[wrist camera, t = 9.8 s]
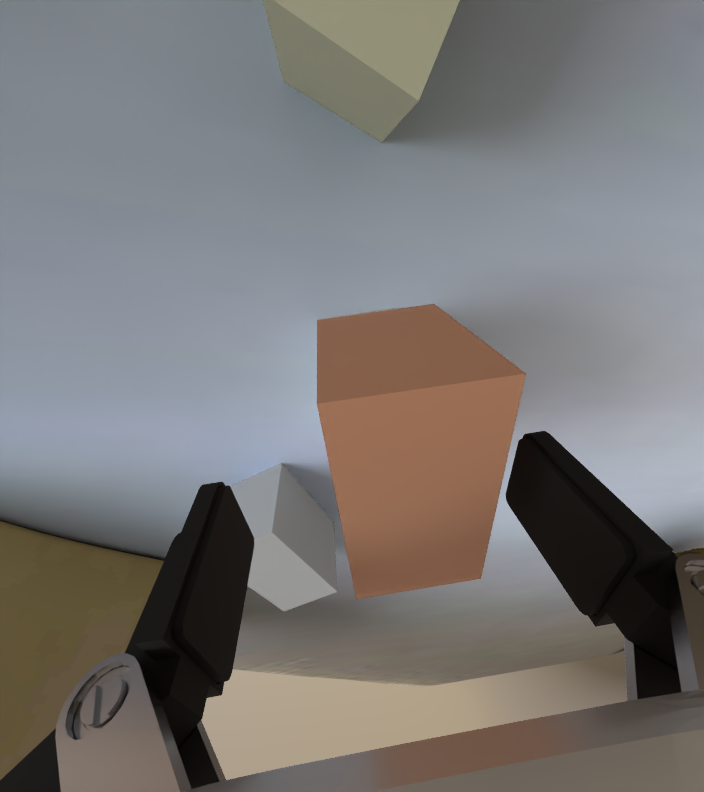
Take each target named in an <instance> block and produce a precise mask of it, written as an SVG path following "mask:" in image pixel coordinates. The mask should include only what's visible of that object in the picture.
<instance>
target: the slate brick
mask: <svg viewBox="0 0 704 792" xmlns="http://www.w3.org/2000/svg"><path fill="white" fill-rule="evenodd" d="M231 489H232V491H233V494H234V496H235V498H236V500H237V502H238V504H239V506H240V508H241V511H242V513H243V515H244V517H245V519H246V521H247V523H248V526H249V528H250V530H251V532H252V534H253V537H254V551H253V556H252V562H251V568H250V573H249V579H248V585H247V586H248V587H250V588H251V589H253V590H254V591H255V592H257V593H258V594H260V595H261V596H263V597H264V598H265V599H267V600H268V601H270V602H271V603H273V604H274V605H275V606H277V607H278V608H280V609H281V610H283V611H287V610H290V609H292V608H295V607H298V606H301V605H303V604H306V603H309V602H311V601H314V600H317V599H319V598H322V597H325V596H328V595H330V594H333V593H336V592H337V574H336V556H335V538H334V522H333V521H332V520H331V518H330V517H329V516H328V515H327V514H326V513H325V512H324V511H323V509H322V508H321V507H320V506H319V505H318V504H317V503H316V501H315V500H314V499H313V498H312V497H311V496H310V495H309V493H308V492H307V491H306V490H305V489H304V488H303V487H302V485H301V484H300V483H299V482H298V481H297V480H296V479H295V477H294V476H293V475H292V474H291V473H290V472H289V471H288V469H287V468H286V467H285V466H284V465H283V464H282V463H280V464H278V465H276V466H274V467H272V468H269V469H267V470H265V471H263V472H261V473H258V474H256V475H254V476H252V477H250V478H247V479H245V480H243V481H241V482H239V483H236V484H234V485H232V487H231Z"/></svg>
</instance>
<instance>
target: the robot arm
mask: <svg viewBox="0 0 704 792" xmlns="http://www.w3.org/2000/svg"><path fill="white" fill-rule="evenodd" d="M506 500H507V503H508V505H509V506H510V508H511V509H512V511H513V512H514V514H515V515H516V517H517V518H518V520H519V521H520V523H521V524H522V526H523V527H524V529H525V530H526V532H527V533H528V535H529V536H530V538H531V539H532V541H533V542H534V544H535V545H536V547H537V548H538V550H539V551H540V553H541V554H542V556H543V557H544V559H545V560H546V562H547V563H548V565H549V566H550V568H551V569H552V571H553V572H554V574H555V575H556V577H557V578H558V580H559V581H560V583H561V584H562V586H563V587H564V589H565V590H566V592H567V593H568V595H569V596H570V598H571V599H572V601H573V602H574V604H575V605H576V607H577V608H578V609H579V610H580V611H581V612H582V613H583V614H584V615H588V616H589V618H590V619H591V621H592V622H593V624H594V625H595V627H596V626H601V625H606V624H612V623H615V624H616V625H617V627H618V628H619V630H620V631H621V632H622V634H623V635H624V646H625V663H626V664H625V665H626V683H627V701H625V702H620V703H615V704H609V705H604V706H599V707H593V708H588V709H583V710H577V711H572V712H567V713H562V714H556V715H551V716H546V717H540V718H536V719H530V720H524V721H519V722H514V723H509V724H504V725H499V726H494V727H488V728H483V729H478V730H473V731H468V732H463V733H457V734H452V735H447V736H442V737H437V738H431V739H426V740H421V741H416V742H411V743H405V744H400V745H395V746H390V747H385V748H380V749H375V750H370V751H365V752H360V753H355V754H350V755H345V756H340V757H335V758H330V759H325V760H320V761H315V762H310V763H305V764H300V765H294V766H289V767H285V768H280V769H275V770H271V771H266V772H262V773H257V774H253V775H248V776H244V777H239V778H235V779H230V780H226V779H225V776H224V774H223V772H222V769H221V767H220V764H219V762H218V759H217V757H216V755H215V752H214V750H213V747H212V746H211V743H210V740H209V738H208V736H207V733H206V731H205V728H204V726H203V724H202V721H201V719H202V716H203V712H204V707H205V702H206V698H208V697H214V696H219V695H222V691H223V686H224V681H228V680H229V678H230V676H231V673H232V669H233V663H234V658H235V652H236V646H237V641H238V635H239V630H240V624H241V618H242V613H243V607H244V601H245V596H246V590H247V585H248V579H249V573H250V568H251V562H252V556H253V551H254V537H253V534H252V532H251V530H250V528H249V526H248V523H247V521H246V519H245V517H244V515H243V513H242V511H241V508H240V506H239V504H238V502H237V500H236V498H235V496H234V494H233V491H232V489H231V487H230V486H229V485H228V486H225V485H224V483H223V482H217V483H211V484H204V485H202V486H201V487H200V489H199V491H198V493H197V496H196V498H195V500H194V503H193V505H192V508H191V510H190V512H189V515H188V517H187V520H186V522H185V524H184V527H183V529H182V532H181V533H179V534H178V535H177V536H176V537H175V538H174V540H173V542H172V544H171V546H170V548H169V551H168V553H167V555H166V558H165V560H164V562H163V565H162V567H161V569H160V572H159V574H158V576H157V579H156V581H155V583H154V586H153V588H152V590H151V593H150V595H149V597H148V600H147V602H146V604H145V607H144V609H143V611H142V614H141V616H140V618H139V621H138V623H137V625H136V628H135V630H134V632H133V635H132V637H131V639H130V642H129V644H128V646H127V649H126V651H125V653H124V654H116V655H114V656H111V657H109V658H106V659H105V660H103V661H102V662H100V663H99V664H97V665H96V666H94V667H93V668H92V669H91V670H90V671H89V672H88V673H87V674H86V675H85V676H84V677H83V678H82V679H81V680H80V681H79V682H78V684H77V685H76V686H75V688H74V689H73V690H72V691H71V693H70V694H69V696H68V698H67V700H66V702H65V703H64V705H63V707H62V709H61V712H60V715H59V718H58V720H57V723H56V728H55V729H54V730H53V731H52V732H51V733H50V734H49V735H48V736H47V737H46V738H45V739H44V740H43V741H42V742H40V743H39V744H38V745H37V746H36V747H35V748H34V749H33V750H32V751H31V752H30V753H29V754H28V755H27V756H26V757H24V758H23V759H22V760H21V761H20V762H19V763H18V764H17V765H16V766H15V767H14V768H13V769H12V770H11V771H10V772H8V773H7V774H6V775H5V776H4V777H3V778H2V779H1V780H0V792H704V555H702V554H693V553H688V554H685V555H681V556H680V557H679V558H678V557H677V556H676V555H675V554H674V553H673V552H672V550H673V549H672V548H671V547H670V546H669V545H668V544H666V543H665V542H664V541H663V540H662V539H661V538H660V537H659V536H658V535H657V534H656V533H655V532H654V531H653V530H651V529H650V528H649V527H648V526H647V525H646V524H645V523H644V522H643V521H642V520H641V519H640V518H639V517H638V516H637V515H635V514H634V513H633V512H632V511H631V510H630V509H629V508H628V507H627V506H626V505H625V504H624V503H623V502H622V501H621V500H619V499H618V498H617V497H616V496H615V495H614V494H613V493H612V492H611V491H610V490H609V489H608V488H607V487H606V486H604V485H603V484H602V483H601V482H600V481H599V480H598V479H597V478H596V477H595V476H594V475H593V474H592V473H591V472H590V471H588V470H587V469H586V468H585V467H584V466H583V465H582V464H581V463H580V462H579V461H578V460H577V459H576V458H575V457H574V456H572V455H571V454H570V453H569V452H568V451H567V450H566V449H565V448H564V447H563V446H562V445H561V444H560V443H559V442H557V441H556V440H555V439H554V438H553V437H552V436H551V435H550V434H549V433H547V432H545V431H540V432H534V433H528V434H525V435H524V436H523V438H522V439H520V440H519V442H518V446H517V450H516V454H515V458H514V463H513V467H512V471H511V475H510V479H509V483H508V487H507V491H506Z"/></svg>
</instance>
